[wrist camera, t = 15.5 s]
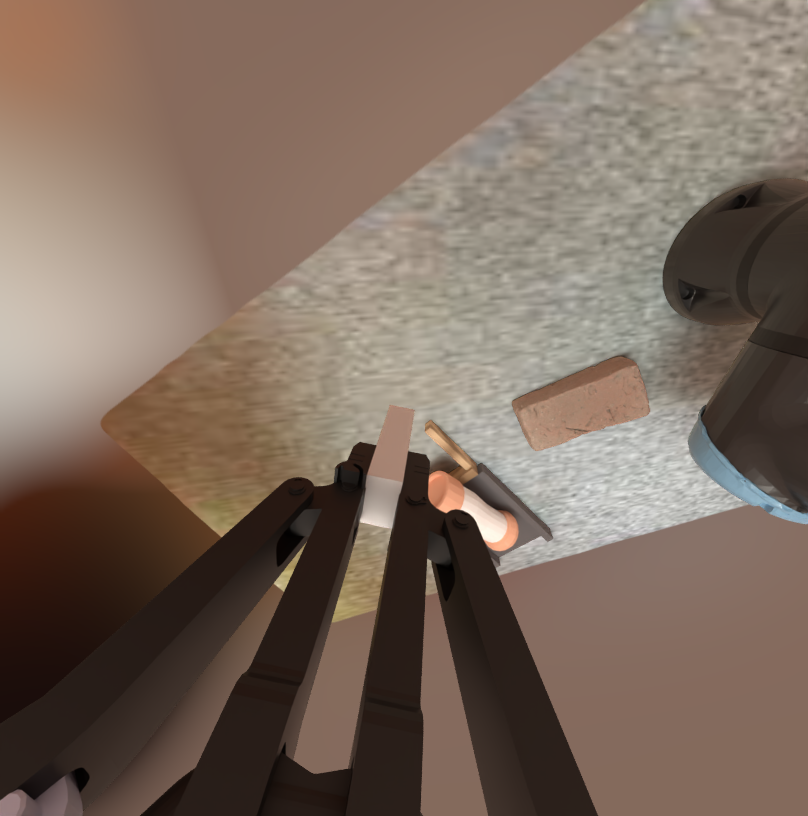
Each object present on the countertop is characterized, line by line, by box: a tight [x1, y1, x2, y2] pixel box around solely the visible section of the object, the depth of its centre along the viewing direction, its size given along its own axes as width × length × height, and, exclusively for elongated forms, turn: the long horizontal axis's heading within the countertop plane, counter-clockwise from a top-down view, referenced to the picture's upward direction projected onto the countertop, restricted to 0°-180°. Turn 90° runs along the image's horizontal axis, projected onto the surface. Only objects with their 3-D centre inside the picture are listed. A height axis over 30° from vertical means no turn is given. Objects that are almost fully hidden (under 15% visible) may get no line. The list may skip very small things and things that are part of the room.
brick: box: [512, 356, 650, 451], centre depth 46 cm, size 16×8×5 cm, turn 119°
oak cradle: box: [425, 420, 478, 485], centre depth 54 cm, size 12×11×3 cm
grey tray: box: [463, 463, 553, 568], centre depth 59 cm, size 20×13×2 cm, turn 45°
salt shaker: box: [428, 471, 519, 551], centre depth 53 cm, size 7×7×19 cm
